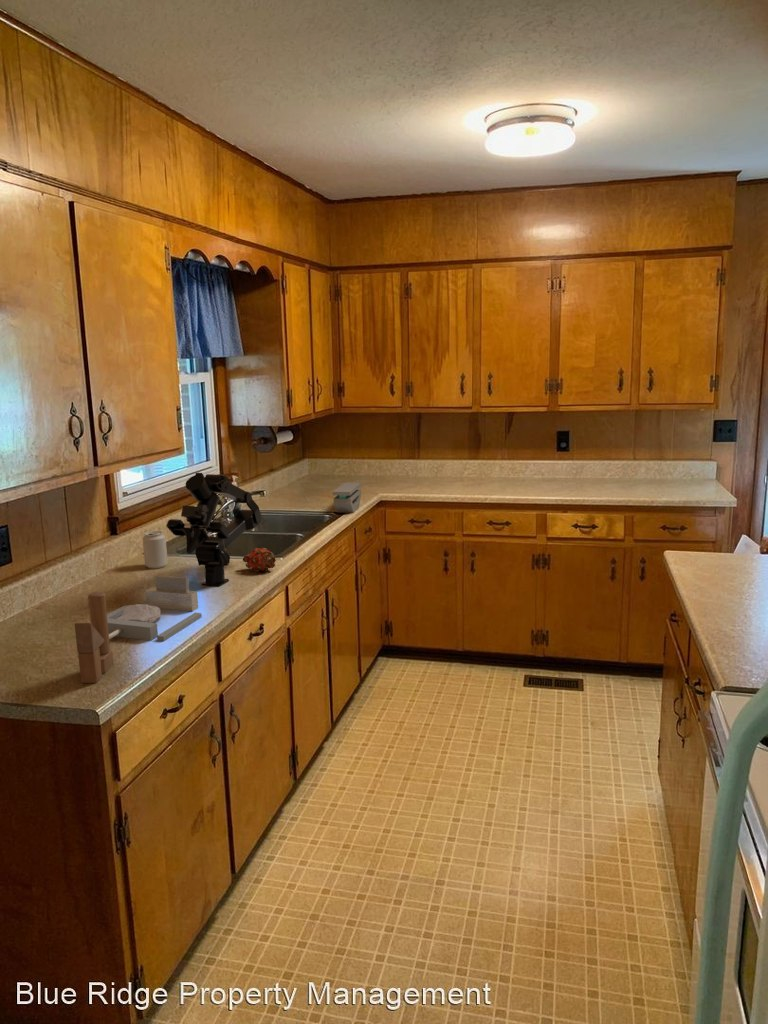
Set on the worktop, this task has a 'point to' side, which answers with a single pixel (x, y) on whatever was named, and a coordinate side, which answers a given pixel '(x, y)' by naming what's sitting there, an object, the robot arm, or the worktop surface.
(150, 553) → the can
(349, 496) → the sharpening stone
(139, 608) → the stone block
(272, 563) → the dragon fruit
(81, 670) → the wooden block
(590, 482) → the worktop surface
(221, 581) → the robot arm
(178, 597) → the bar
